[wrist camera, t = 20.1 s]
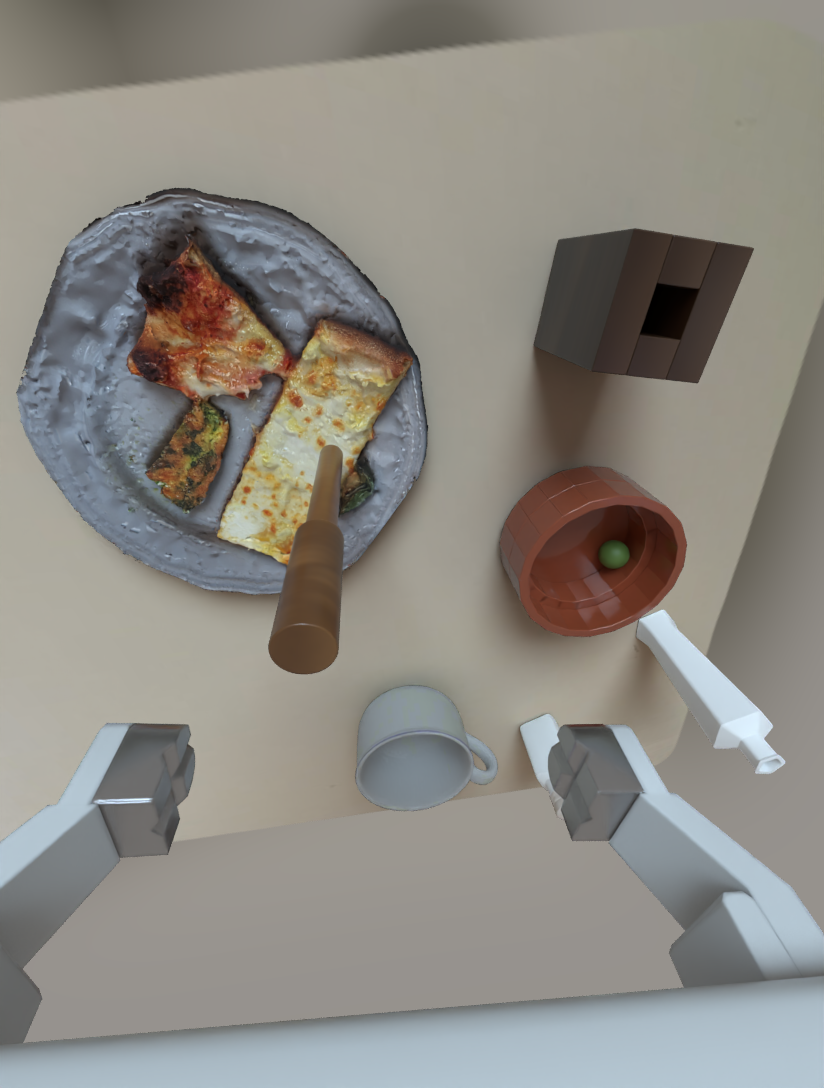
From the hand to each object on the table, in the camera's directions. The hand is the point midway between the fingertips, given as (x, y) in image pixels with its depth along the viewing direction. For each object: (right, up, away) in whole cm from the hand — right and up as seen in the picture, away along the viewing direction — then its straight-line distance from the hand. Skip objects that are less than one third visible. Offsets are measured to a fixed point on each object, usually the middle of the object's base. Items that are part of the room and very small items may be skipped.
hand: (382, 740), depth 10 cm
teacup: (+2, -13, +38) cm, 40 cm away
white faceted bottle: (+25, -4, +36) cm, 43 cm away
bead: (+17, +3, +28) cm, 33 cm away
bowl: (+14, +5, +29) cm, 32 cm away
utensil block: (+12, +20, +19) cm, 30 cm away
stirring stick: (-5, +10, +20) cm, 23 cm away
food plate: (-11, +13, +21) cm, 27 cm away
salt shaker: (+15, -16, +42) cm, 47 cm away
